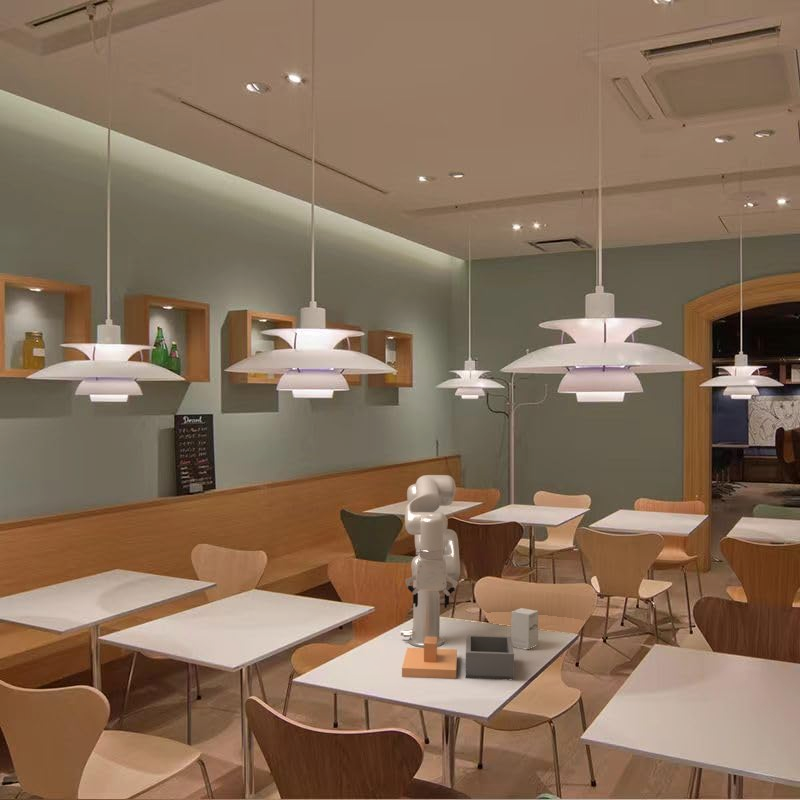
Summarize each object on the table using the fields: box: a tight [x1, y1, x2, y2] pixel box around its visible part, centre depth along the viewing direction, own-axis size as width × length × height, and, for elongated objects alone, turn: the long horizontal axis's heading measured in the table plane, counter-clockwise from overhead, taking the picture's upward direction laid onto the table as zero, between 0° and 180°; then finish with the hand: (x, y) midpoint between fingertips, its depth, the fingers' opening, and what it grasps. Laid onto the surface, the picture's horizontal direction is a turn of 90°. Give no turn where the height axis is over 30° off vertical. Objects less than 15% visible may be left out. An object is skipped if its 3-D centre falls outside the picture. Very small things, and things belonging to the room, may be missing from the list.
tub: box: [465, 634, 515, 681], centre depth 269 cm, size 15×20×8 cm
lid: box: [401, 636, 458, 680], centre depth 270 cm, size 17×22×9 cm
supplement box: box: [510, 607, 539, 650], centre depth 294 cm, size 7×7×13 cm
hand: (431, 606), depth 271 cm, fingers open, 9 cm apart
